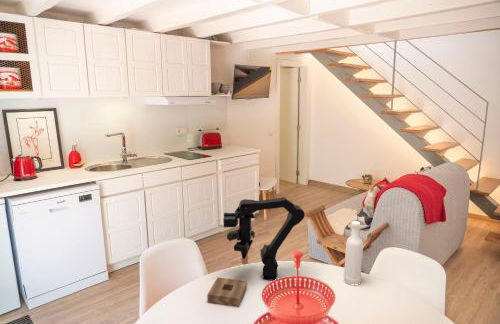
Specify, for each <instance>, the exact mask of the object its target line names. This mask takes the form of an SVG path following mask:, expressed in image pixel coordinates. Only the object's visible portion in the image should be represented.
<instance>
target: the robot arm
mask: <svg viewBox="0 0 500 324" xmlns="http://www.w3.org/2000/svg"><path fill="white" fill-rule="evenodd" d="M280 208H283V209H284V210H286V211H287V212H288V213H287V216H286V220H285V222H284V223H283V224H282V226H281V227H280V229H279V230H278V232H277V233H276V234H275V236H274V238H273V239H272V240H271V242H270V243H269V244H264V245H263V247H262V248H261V249H260V253H259V256H260V260H261V262H262V264H263V266H262V279H263V280H267V281H274V280H275V279H276V280H277V279H278V276H279V272H278V267H279V264H278V261H277V259H276V257H277V254H278V250H279V249H280V247H281V246H282V245H283V243H284V241H285V240H286V238H288V236H289V234H290V233H291V231H292V230H293V228H294V227H296V226H297V225H298V224H300V223H301V222H302V221H303V220H304V218H305V216H306V215H305V212H304V210H303V208H302V207H301V206H299V205H298V204H297V205H295V204H294V203H293V202H291V201H290V200H288V198H287V197H284V196H282V197H279V198H278V197H277V198H270V199H262V200H254V199H245V198H244V199H241V200H240V201H239V203H238V207H236V209H235V210H234V212H224V213H223V219H222V220H223V228H236V227H237V226H238V229H234V230H230V231H228V233H227V234H226V239H227V240H228V241H229V242H231V241H233V240H236V241H237V242H236V243H234V245H233V251H235V252H240V254H241V258H242V257H243V259H245V258H246V255H247V253H248V254H249V251H250V249H251V247H252V244H253V242H254V239H255V237H256V232H255V231H254V230H253V226H252V219H255V218H256V216H255V215H256V214H254V213H256V212H258V211H263V210H264V211H265V210H273V209H280Z"/></svg>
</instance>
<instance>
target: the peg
mask: <svg viewBox="0 0 500 324" xmlns="http://www.w3.org/2000/svg"><path fill="white" fill-rule="evenodd" d="M248 260H249V252H248V253H247V255H246V258H245V259H243V257H242V256H241V264H242V265H248V264H249V261H248Z"/></svg>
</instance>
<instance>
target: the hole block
mask: <svg viewBox="0 0 500 324" xmlns="http://www.w3.org/2000/svg"><path fill="white" fill-rule="evenodd" d="M247 284H248V283H247V280H241V279H232V278H226V277H220V276H219V277H217V278H216V279H215V281H214V283H213V284H212V286H211V287H210V289H209V291H208V292H207V295H206V296H207V303H209V304H215V305H219V306H220V305H222V306H228V307H236V308H240V306H241V303H242V301H243V299H244V296H245V294H246V292H247V290H248V285H247Z"/></svg>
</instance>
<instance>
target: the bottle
mask: <svg viewBox="0 0 500 324" xmlns="http://www.w3.org/2000/svg"><path fill="white" fill-rule="evenodd" d="M360 229H361V223H360V221H357V220H354V221H352V222H351V234H350V236H349V237H348V238H347V240H346V242H345V253H344V254H345V256H344V269H343V271H344V272H343V281H345V282H344V283H346V284H347V283H348V284H347V285H349V284H354V285H353V286H356V285H355V284H359V283H360V284H361V280H362V267H363V257H364V256H363V254H364V252H363V251H364V242H363V238H361V237H360V232H361V231H360ZM360 284H359V285H360Z"/></svg>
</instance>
